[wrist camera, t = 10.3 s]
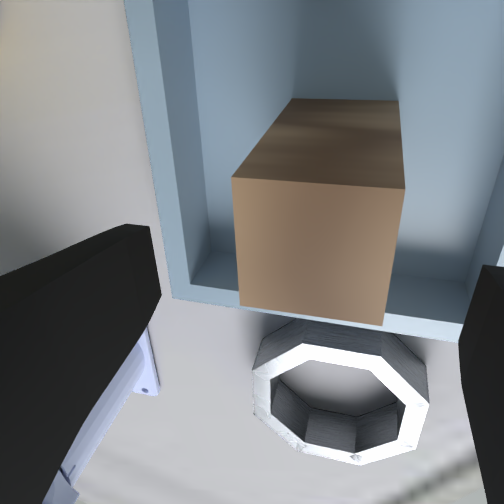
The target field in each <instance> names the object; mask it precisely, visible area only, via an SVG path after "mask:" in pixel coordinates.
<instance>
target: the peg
mask: <svg viewBox="0 0 504 504" xmlns="http://www.w3.org/2000/svg"><path fill="white" fill-rule="evenodd" d="M231 184H232V199H233V213H234V228H235V242H236V257H237V271H238V286H239V300H240V306H246V307H252V308H259V309H266V310H273V311H280V312H287V313H294V314H301V315H307V316H314V317H321V318H328V319H335V320H342V321H349V322H356V323H363V324H369V325H376V326H383V320H384V314H385V308H386V302H387V296H388V290H389V284H390V278H391V272H392V267H393V261H394V255H395V249H396V243H397V237H398V231H399V225H400V219H401V213H402V207H403V202H404V196H405V190H406V189H405V176H404V162H403V149H402V136H401V123H400V109H399V101H390V100H348V99H305V98H292V99H291V100H290V102H289V103H288V104H287V105H286V107H285V108H284V109H283V111H282V112H281V113H280V114H279V116H278V117H277V118H276V120H275V121H274V122H273V124H272V125H271V126H270V127H269V129H268V130H267V131H266V133H265V134H264V135H263V136H262V138H261V139H260V140H259V142H258V143H257V144H256V145H255V147H254V148H253V149H252V151H251V152H250V153H249V155H248V156H247V157H246V158H245V160H244V161H243V162H242V164H241V165H240V166H239V167H238V169H237V170H236V171H235V173H234V174H233V175H232V176H231Z"/></svg>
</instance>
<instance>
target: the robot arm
mask: <svg viewBox="0 0 504 504" xmlns="http://www.w3.org/2000/svg"><path fill="white" fill-rule="evenodd" d="M161 295H162V294H161V288H160V283H159V277H158V272H157V266H156V260H155V255H154V249H153V244H152V238H151V233H150V227H149V226H142V225H133V224H124V225H121V226H117V227H115V228H112V229H109V230H107V231H104V232H102V233H100V234H97V235H95V236H93V237H90V238H88V239H86V240H84V241H81V242H79V243H77V244H75V245H72V246H70V247H68V248H66V249H63V250H61V251H59V252H57V253H54V254H52V255H50V256H48V257H45V258H43V259H41V260H39V261H36V262H34V263H31V264H29V265H26V266H24V267H21V268H19V269H17V270H14V271H12V272H9V273H7V274H4V275H2V276H0V504H74V503H75V502H76V500H77V498H78V497H79V492H77V491H76V490H75V489H73V486H74V484H75V483H76V481H77V480H78V478H79V476H80V475H81V473H82V471H83V470H84V468H85V467H86V465H87V463H88V462H89V460H90V458H91V457H92V455H93V454H94V452H95V450H96V449H97V447H98V445H99V444H100V442H101V441H102V439H103V437H104V436H105V434H106V432H107V431H108V429H109V427H110V426H111V424H112V423H113V421H114V419H115V418H116V416H117V414H118V413H119V411H120V410H121V408H122V406H123V405H124V403H125V401H126V400H127V398H128V397H129V395H130V393H131V392H136V393H140V394H145V395H150V396H157V395H158V394H159V392H160V387H159V382H158V377H157V373H156V368H155V364H154V359H153V354H152V350H151V345H150V340H149V336H148V331H147V325H148V323H149V321H150V319H151V317H152V315H153V313H154V311H155V309H156V306H157V304H158V302H159V300H160V298H161ZM458 346H459V361H460V373H461V384H462V389H463V394H464V399H465V404H466V408H467V413H468V418H469V422H470V427H471V431H472V435H473V440H474V444H475V449H476V453H477V458H478V462H479V467H480V471H481V476H482V480H483V484H484V489H485V493H486V498H487V504H504V267H501V266H492V265H484V264H483V265H482V268H481V271H480V274H479V277H478V281H477V284H476V287H475V290H474V293H473V296H472V299H471V302H470V305H469V309H468V312H467V315H466V318H465V321H464V324H463V327H462V330H461V333H460V337H459V340H458Z"/></svg>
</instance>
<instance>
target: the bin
mask: <svg viewBox="0 0 504 504" xmlns="http://www.w3.org/2000/svg"><path fill="white" fill-rule="evenodd" d="M124 5H125V11H126V17H127V23H128V29H129V35H130V41H131V47H132V53H133V59H134V66H135V72H136V78H137V84H138V90H139V96H140V102H141V108H142V114H143V121H144V127H145V133H146V139H147V145H148V151H149V157H150V163H151V169H152V176H153V182H154V188H155V194H156V200H157V206H158V212H159V218H160V224H161V231H162V237H163V243H164V249H165V255H166V261H167V267H168V273H169V279H170V285H171V292H172V298H174V299H180V300H187V301H193V302H199V303H206V304H212V305H219V306H225V307H232V308H238V309H244V310H251V311H257V312H264V313H270V314H276V315H283V316H289V317H296V318H302V319H308V320H315V321H321V322H328V323H334V324H340V325H347V326H353V327H360V328H366V329H372V330H379V331H385V332H392V333H398V334H404V335H411V336H417V337H424V338H430V339H436V340H443V341H449V342H456V343H458V340H459V337H460V333H461V330H462V327H463V324H464V321H465V318H466V315H467V312H468V309H469V305H470V302H471V299H472V296H473V293H474V290H475V287H476V284H477V281H478V277H479V274H480V271H481V268H482V265H483V264H484V265H492V266H501V267H504V0H124ZM292 98H305V99H348V100H390V101H399V109H400V123H401V136H402V149H403V162H404V176H405V189H406V190H405V196H404V202H403V207H402V213H401V219H400V225H399V231H398V237H397V243H396V249H395V255H394V261H393V267H392V272H391V278H390V284H389V290H388V296H387V302H386V308H385V314H384V320H383V326H376V325H369V324H363V323H356V322H349V321H342V320H335V319H328V318H321V317H314V316H307V315H301V314H294V313H287V312H280V311H273V310H266V309H259V308H252V307H246V306H240V300H239V286H238V271H237V257H236V242H235V228H234V213H233V199H232V184H231V176H232V175H233V174H234V173H235V171H236V170H237V169H238V167H239V166H240V165H241V164H242V162H243V161H244V160H245V158H246V157H247V156H248V155H249V153H250V152H251V151H252V149H253V148H254V147H255V145H256V144H257V143H258V142H259V140H260V139H261V138H262V136H263V135H264V134H265V133H266V131H267V130H268V129H269V127H270V126H271V125H272V124H273V122H274V121H275V120H276V118H277V117H278V116H279V114H280V113H281V112H282V111H283V109H284V108H285V107H286V105H287V104H288V103H289V102H290V100H291V99H292Z"/></svg>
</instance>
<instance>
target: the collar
mask: <svg viewBox="0 0 504 504" xmlns="http://www.w3.org/2000/svg"><path fill="white" fill-rule="evenodd" d="M309 359H311V360H317V361H323V362H328V363H334V364H339V365H345V366H351V367H356V368H362V369H368V370H370V371H371V372H372V373H373V374H374V375H375V376H376V377H377V378H378V379H379V380H380V381H381V382H382V383H383V384H385V385H386V386H387V387H388V388H389V389H390V390H391V391H392V392H393V393H394V394H395V395H396V396H397V397H398V399H397V403H394V404H391V405H388V406H386V407H383V408H380V409H378V410H375V411H372V412H370V413H367V414H364V415H362V416H359V417H353V416H349V415H344V414H339V413H334V412H329V411H324V410H319V409H314V408H310V407H309V406H308V405H307V404H306V403H305V402H304V401H303V400H301V399H300V398H299V397H298V396H297V395H296V394H295V393H294V392H292V391H291V390H290V389H289V388H288V387H287V386H286V385H285V384H283V383H282V382H281V381H280V380H279V375H280V374H282V373H284V372H286V371H288V370H290V369H292V368H294V367H295V366H297V365H299V364H301V363H303V362H305V361H307V360H309ZM252 380H253V405H254V415H255V416H256V417H258V418H259V419H260V420H261V421H262V422H263V423H265V424H266V425H267V426H268V427H269V428H271V429H272V430H273V431H274V432H275V433H276V434H278V435H279V436H280V437H281V438H282V439H283V440H285V441H286V442H287V443H288V444H289V445H291V446H292V447H293V448H294V449H295V450H296V451H299V452H304V453H308V454H312V455H317V456H321V457H326V458H330V459H334V460H339V461H343V462H347V463H352V464H356V465H359V466H361V465H363V464H366V463H370V462H373V461H377V460H380V459H383V458H387V457H390V456H393V455H397V454H400V453H404V452H407V451H410V450H414V449H416V446H417V442H418V439H419V436H420V433H421V429H422V426H423V423H424V419H425V416H426V413H427V410H428V406H429V405H430V404H429V393H428V382H427V372H426V366H425V365H424V364H423V363H422V362H421V361H420V360H419V359H418V358H417V357H416V356H415V355H414V354H413V353H412V352H411V351H410V350H409V349H408V348H407V347H406V346H405V345H404V344H403V343H402V342H401V341H400V340H399V339H398V338H397V337H396V336H395V335H394V334H393V333H392V332H385V331H379V330H372V329H366V328H360V327H353V326H347V325H340V324H334V323H328V322H321V321H315V320H308V319H302V318H297V319H295V320H294V321H292V322H290V323H289V324H287V325H285V326H284V327H282V328H280V329H278V330H277V331H275V332H273V333H272V334H270V335H268V336H267V337H265V338H263V340H262V342H261V345H260V348H259V351H258V354H257V357H256V360H255V363H254V366H253V369H252Z"/></svg>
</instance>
